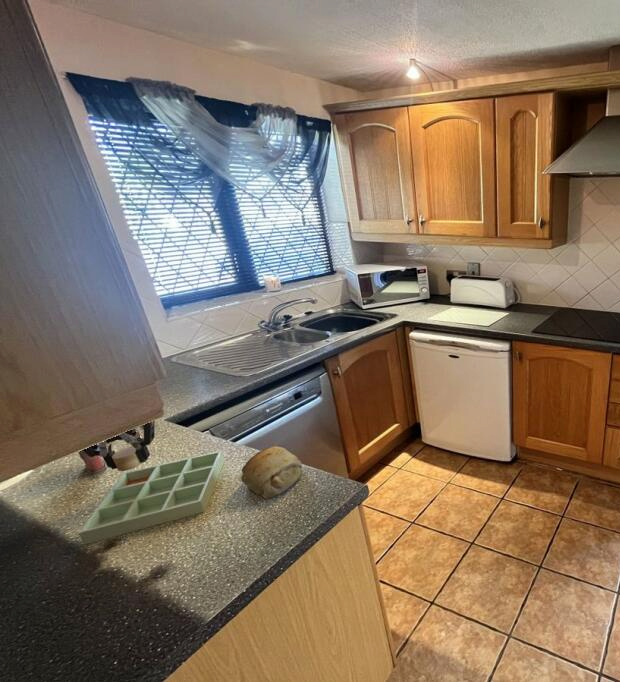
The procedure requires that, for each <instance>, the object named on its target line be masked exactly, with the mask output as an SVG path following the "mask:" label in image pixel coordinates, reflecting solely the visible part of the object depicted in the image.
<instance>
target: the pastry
mask: <svg viewBox="0 0 620 682" xmlns="http://www.w3.org/2000/svg"><path fill="white" fill-rule="evenodd" d="M302 469H303V463H302V461H301V460H300V459H299V458H298V457H297V456H296V455H295V454H293V453H291V452H290V451H289V450H287V449H286V448H284V447H283V446H276V445H271V446H269V447H267V448H263V450H260V451H258V452H256V453H255V454H253V455H252V456H251V457H250V458H249V459H248V460H247V462H246V463H245V465H243V466H242V469H241V473H242V475H241V477H240V478H241V479H240V482H242V483H243V484H244V485H246V486H247V487H248V488H249V489H250V490H251V491H252V493H254V494H256V495H259V496H262V497H263V499H264V500H270V499H272V498H274V497H277V496H279V495H281V494H282V493H283V492H285V491H287V490H288V489H289V488H291V487H292V486H293V485H294V484H295V483H297V482H298V480H299V479H300V478H301V472H302Z"/></svg>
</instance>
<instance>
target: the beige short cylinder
mask: <svg viewBox="0 0 620 682" xmlns="http://www.w3.org/2000/svg"><path fill="white" fill-rule="evenodd" d="M135 450H136V449H135V448H134V447H133V446H132V445H131V446H128V447H124V448H122V449H120V450H117V451H115V453H114V454H113V455H112V459H113V461H114V463H115V465H116V467H117V471H119V472H127V471H131V470H134V469H135V468H138V467H139V466H141V465H142V464H143V463H141V462H140V460H139V458H138V456H137V453H136V451H135Z"/></svg>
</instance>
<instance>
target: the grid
mask: <svg viewBox="0 0 620 682" xmlns="http://www.w3.org/2000/svg"><path fill="white" fill-rule="evenodd" d="M225 461H226V458H225V456H224V452H223V450H218V451H214V452H209V453H205V454H200V455H197V456H192V457H187V458H183V459H177V460H174V461H170V462H166V463H160V464H156V465H152V466H147V467H144V468H139V469H133V470H128V471H124V472H123V473H122V474H121V476H120V477H119V478H118V479H117V481H116V482H115V484H114V485H113V486H112V487H111V488H110V490H109V491H108V493H107V494H106V496H105V497H104V498H103V499H102V501H101V502H100V503H99V505H98V506H97V507H96V509H95V510H94V511H93V513H92V514H91V515H90V517H89V518H88V520H87V521H86V522H85V523H84V525H82V527H81V529H80V530H79V531H78V533H77V534H78V536H79V538H80V540H81V541H82V543H83V545H87V544H88V545H89V544H92V543H95V542H99V541H103V540H106V539H110V538H113V537H114V538H115V537H118V536H121V535H124V534H128V533H132V532H135V531H136V532H137V531H139V530H142V529H146V528H151V527H154V526H157V525H158V526H159V525H161V524H165V523H168V522H174V521H176V520H179V519H184V518H187V517H191V516H195V515H199V514H201V513H205V512H206V509H207V506H208V504H209V502H210V499H211V496H212V494H213V491H214V489H215V486H216V485H217V481H218V479H219V476H220V474H221V471H222V468H223V466H224V463H225Z"/></svg>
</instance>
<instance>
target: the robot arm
mask: <svg viewBox="0 0 620 682" xmlns="http://www.w3.org/2000/svg"><path fill="white" fill-rule="evenodd" d="M139 427H140V429H141V430H143V436H141V433H140V432H139V431H138V430H137V429H136V428H135V429H133V430H130V431H127V432H125V433H122V434H120V435H118V436H116V437H113V438H111V439H108V440H106V441H104V442H101V443H99V442H98V443H96V445H94V446H91V447H89V448H87V449H84V450H83V451H84V452H85V453H86V454H87V455H88V456H89V457H94V456H101V458H102V459H103V460H104V461H105V463H106V466H107V468H109V469H111V470H115V469H117V467H116V465H115V463H114V461H113V459H112V455H113V454H114V453H116V451H115V450H113V442H116V441H124V442H125V443H127V444H128V445H131V447H132V446H133V447H134V448H135V449H136V450H135V451H136V453H137V456H138V458H139V460H140V462H141V463H142V464H143V463H146V462H147V460H148V459H149V457H150V456H151V453H150V451H149V448H148V446H149V445H151V443H152V442H153V441H154V440H155V437H156V435H155V427H156V425H155V421H153V422H150V423H147V424H145V425H142V426H139ZM117 470H118V469H117Z"/></svg>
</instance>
